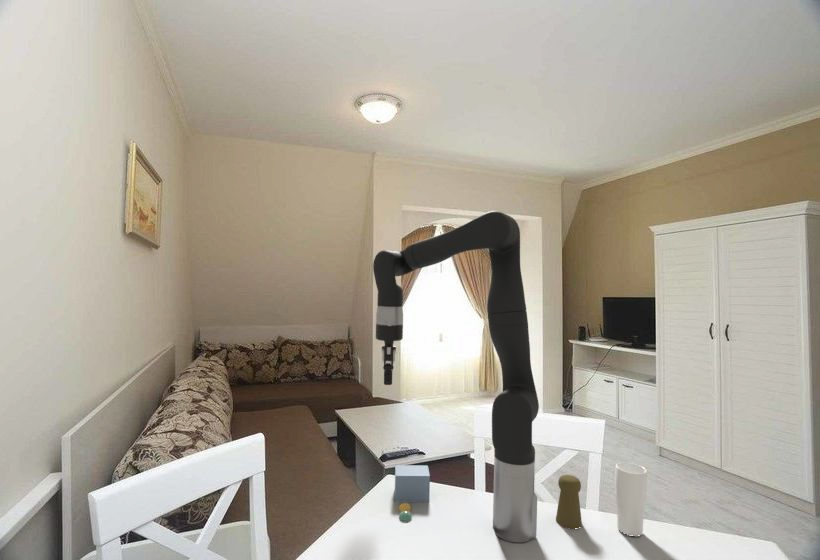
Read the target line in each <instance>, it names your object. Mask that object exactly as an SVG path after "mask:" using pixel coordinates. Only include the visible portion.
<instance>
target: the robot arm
mask: <svg viewBox="0 0 820 560" xmlns="http://www.w3.org/2000/svg"><path fill="white" fill-rule="evenodd" d="M482 249H483V250H485V249H487V250H488V253H489V259H490V266H491V279H490V285H489V290H488V297H487V304H486V309H487V321H488V322H487V323H488V329H489V335H490V338H491V341H492V344H493V347H494V350H495V352H496V354H497V357H498V360H499V363H500V367H501V376H502V381H501V382H502V392H500V393H499V394H498V395H497V396H496V397H495V399H494V401H493V402H492V409H491V441H492V442H491V443H492V446H493V449H494V451H493V452H494V458H493V460H494V461H493V462H494V463H493V466H494V467H493V501H492V502H493V503H492V508H493V509H492V530H493V532H494V534H495V535H496V536H497V537H498V538H500V539H501V540H504V541H506V542H511V543H525V542H528V541H530V540H532V539H537V529H538V528H537V525H538V524H537V523H538V521H537V520H538V496H537V494H536V492H535V480H536V479H535V477H536V476H535V475H536V473H535V471H536V449H535V446H534V445H533V422H534V421H535V419H536V418H537V416H538V413H539V408H540V405H539V404H540V403H539V397H538V394H537V389H536V385H535V379H534V375H533V371H532V370H533V369H532V364H531V346H530V345H531V343H530V331H529V321H528V313H527V304H526V297H525V291H524V282H523V277H522V269H521V231H520V226H519V224H518V222H517V220H515V218H514V217H512V216H511V215H508V214H506V213H504V212H502V211H497V210H491V211H487V212H485V213H483V214H481V215H480V216H478V217H476V218H473V219H472V220H470V221H468V222H466V223H464V224H463V225H460V226H458V227H456V228H453V229H452V230H448V231H446V232H444V233H441V234H438V235H434V236H432V237H428V238H425V239H421V240H419V241H416V242H414V243H411V244H409V245H407V246H406V247H405V249H403V250H399V251H394V250H386V249H383V250H380V251H378V253H377V254H376V255H375V256H374V259H373V263H372V268H373V276H374V281H375V285H376V288H377V303H376V305H377V308H376V313H375V314H376V315H375V316H376V317H375V339H376V340H378V341H382V342H384V345H381V354H382V355H381V356H382V358H381V359H382V360H381V361H382V362H381V363H382V364H383V367H382V369H383V384H384V386H391V385H393V370H394V364H395V363H396V353H397V345H394V343H395V342H399V341H402V340H403V336H404V333H403V332H404V331H403V330H404V311H403V309H404V308H403V307H404V306H403V304H404V303H403V302H404V301H403V299H404V297H403V296H404V293H403V292H404V291H403V288H402V287H401V286H400V285H398V284H397V279H396V278H397V277H401V276H404V275H407V274H410V273H412V272H414V271H416V270H418V269H422V268H426V267H430V266H433V265H436V264H439V263H442V262H444V261H446V260H448V259H450V258H451V257H454V256H455V255H458V254H461V253H465V252H468V251H475V250H482Z"/></svg>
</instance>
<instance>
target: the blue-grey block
mask: <svg viewBox="0 0 820 560" xmlns="http://www.w3.org/2000/svg"><path fill="white" fill-rule="evenodd" d="M394 467H395V469H394V470H395V471H394V502H395V503H396V502H399V503H400V502H403V503H408V502H410V503H411V502H413V503H414V502H415V503H417V502H418V503H421V502H423V503H424V502H425V503H426V502H427V503H429V502H430V490H431V489H430V484H431V483H430V482H431V480H430V479H431V476H430V475H431V473H430V470H429V466H428V465H420V464H419V465H418V464H417V465H414V464H413V465H410V464H406V465H403V464H402V465H401V464H400V465H399V464H398V465H395V466H394Z"/></svg>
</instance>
